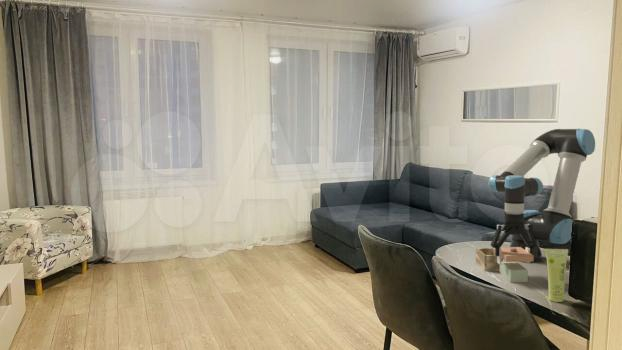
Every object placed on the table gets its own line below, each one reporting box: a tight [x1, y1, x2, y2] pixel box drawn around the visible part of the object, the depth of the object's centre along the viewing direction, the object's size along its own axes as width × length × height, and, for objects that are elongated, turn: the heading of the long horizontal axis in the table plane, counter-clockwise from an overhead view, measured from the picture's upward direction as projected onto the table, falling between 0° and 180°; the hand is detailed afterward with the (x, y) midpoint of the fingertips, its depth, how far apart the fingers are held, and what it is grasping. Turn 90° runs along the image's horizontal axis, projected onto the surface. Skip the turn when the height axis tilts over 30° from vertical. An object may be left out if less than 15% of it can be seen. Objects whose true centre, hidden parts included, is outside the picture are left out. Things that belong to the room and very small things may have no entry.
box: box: [475, 247, 504, 272], centre depth 209 cm, size 8×12×7 cm, turn 178°
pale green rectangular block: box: [499, 261, 529, 283], centre depth 194 cm, size 7×12×5 cm, turn 178°
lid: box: [500, 246, 534, 263], centre depth 193 cm, size 11×13×4 cm
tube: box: [544, 248, 569, 303], centre depth 167 cm, size 6×5×20 cm
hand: (513, 263), depth 193 cm, fingers closed on lid, 11 cm apart
